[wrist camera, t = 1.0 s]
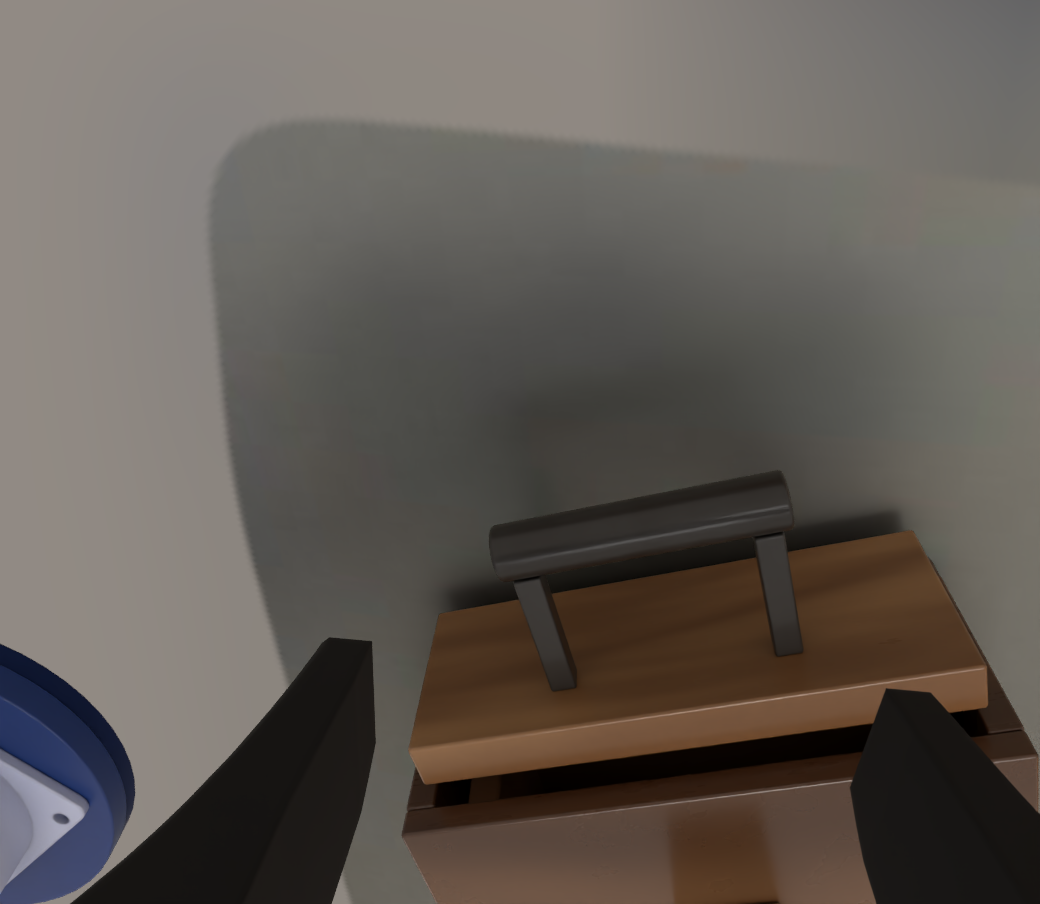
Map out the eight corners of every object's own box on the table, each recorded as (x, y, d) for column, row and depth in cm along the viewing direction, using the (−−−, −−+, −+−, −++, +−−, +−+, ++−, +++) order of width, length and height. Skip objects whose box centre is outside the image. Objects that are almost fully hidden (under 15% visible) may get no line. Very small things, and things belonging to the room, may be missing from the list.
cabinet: (441, 641, 25) (399, 836, 20) (931, 557, 23) (1040, 755, 17) (551, 902, 31) (543, 1109, 26) (952, 859, 29) (1039, 1080, 23)
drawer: (381, 476, 22) (333, 600, 18) (899, 366, 19) (982, 480, 15) (547, 874, 29) (539, 1026, 25) (937, 830, 27) (999, 991, 23)
